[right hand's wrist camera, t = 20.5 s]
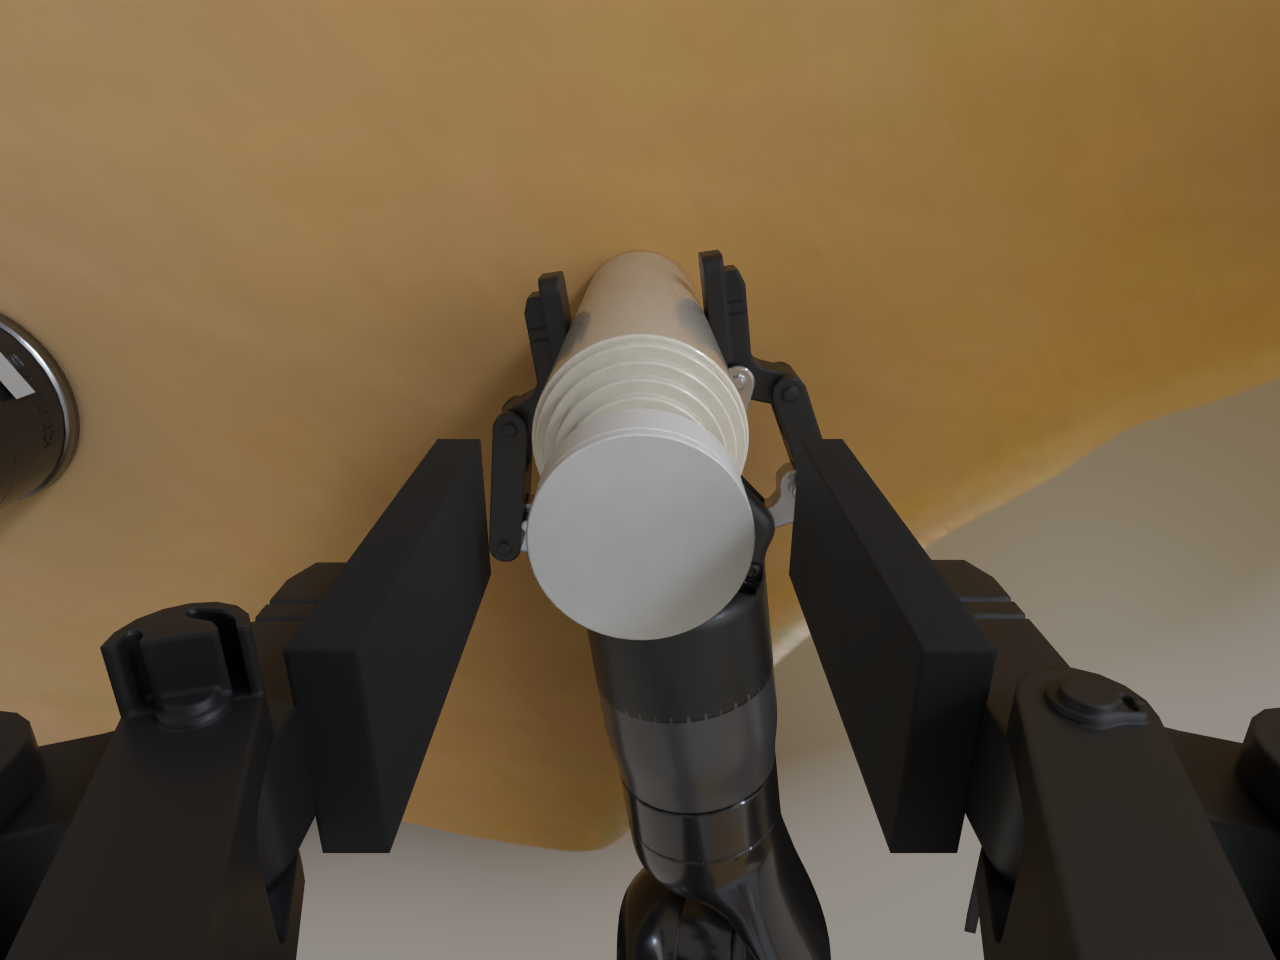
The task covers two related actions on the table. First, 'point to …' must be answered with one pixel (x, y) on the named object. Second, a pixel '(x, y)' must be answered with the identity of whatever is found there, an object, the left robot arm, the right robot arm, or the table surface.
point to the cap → (640, 525)
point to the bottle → (640, 358)
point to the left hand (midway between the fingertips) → (629, 266)
